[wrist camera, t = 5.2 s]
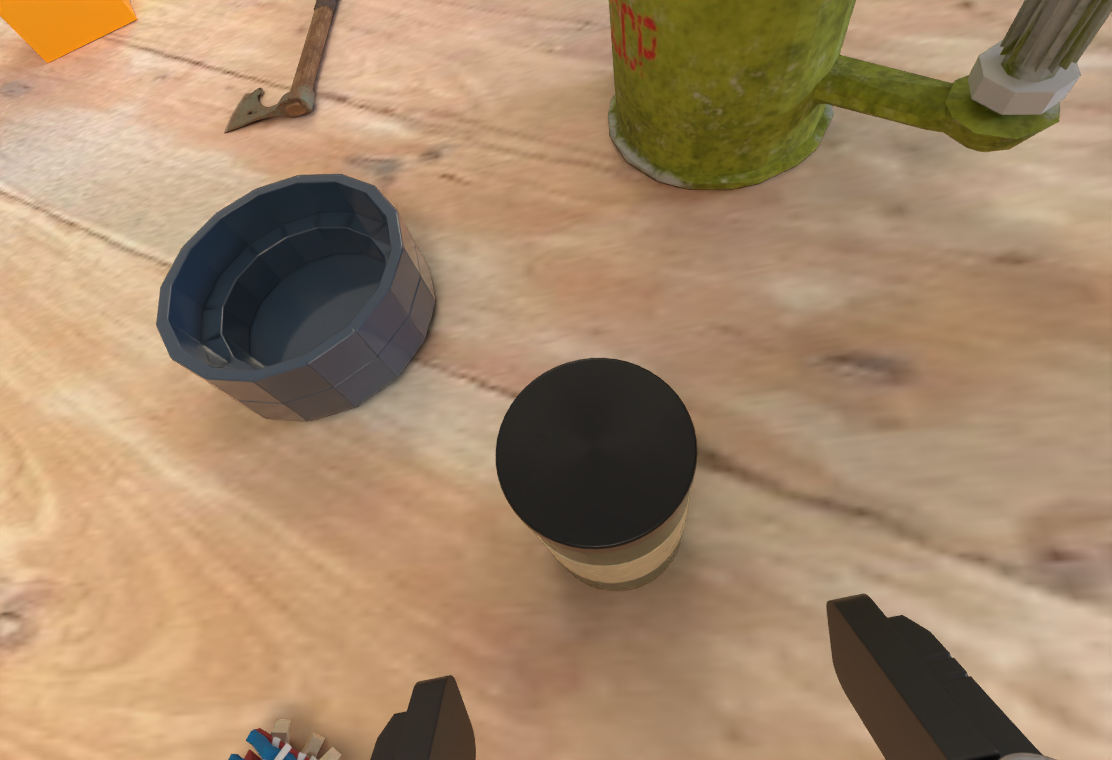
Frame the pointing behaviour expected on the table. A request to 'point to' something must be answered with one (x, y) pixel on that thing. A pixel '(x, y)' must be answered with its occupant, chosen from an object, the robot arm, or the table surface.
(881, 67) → the blowtorch
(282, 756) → the woven mat
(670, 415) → the green tin
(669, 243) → the table surface
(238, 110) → the tomahawk
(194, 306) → the slate bowl
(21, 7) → the orange juice
